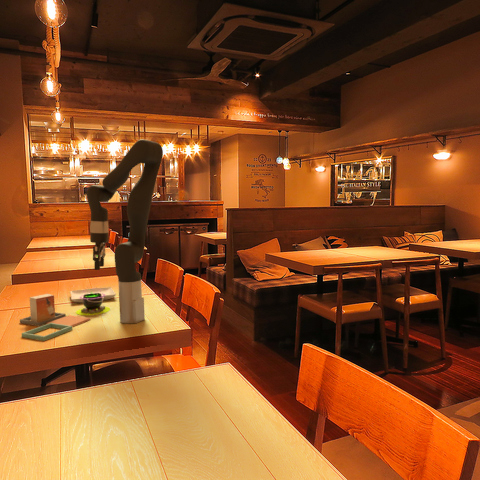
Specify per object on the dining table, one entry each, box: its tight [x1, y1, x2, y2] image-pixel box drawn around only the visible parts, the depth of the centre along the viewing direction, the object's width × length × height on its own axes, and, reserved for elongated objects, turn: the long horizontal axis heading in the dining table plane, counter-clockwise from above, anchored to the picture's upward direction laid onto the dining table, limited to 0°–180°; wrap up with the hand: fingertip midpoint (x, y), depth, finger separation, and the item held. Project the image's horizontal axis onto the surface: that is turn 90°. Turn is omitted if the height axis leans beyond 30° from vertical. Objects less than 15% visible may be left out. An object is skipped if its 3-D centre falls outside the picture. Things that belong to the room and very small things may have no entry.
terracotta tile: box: [47, 314, 92, 328], centre depth 168 cm, size 12×12×1 cm
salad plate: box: [69, 286, 117, 304], centre depth 209 cm, size 21×21×3 cm
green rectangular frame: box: [21, 323, 73, 342], centre depth 154 cm, size 11×13×2 cm
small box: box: [29, 293, 56, 322], centre depth 171 cm, size 8×6×10 cm
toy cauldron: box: [75, 286, 111, 317], centre depth 185 cm, size 15×15×11 cm
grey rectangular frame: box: [19, 311, 67, 327], centre depth 172 cm, size 11×13×2 cm
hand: (99, 268), depth 177 cm, fingers open, 8 cm apart
